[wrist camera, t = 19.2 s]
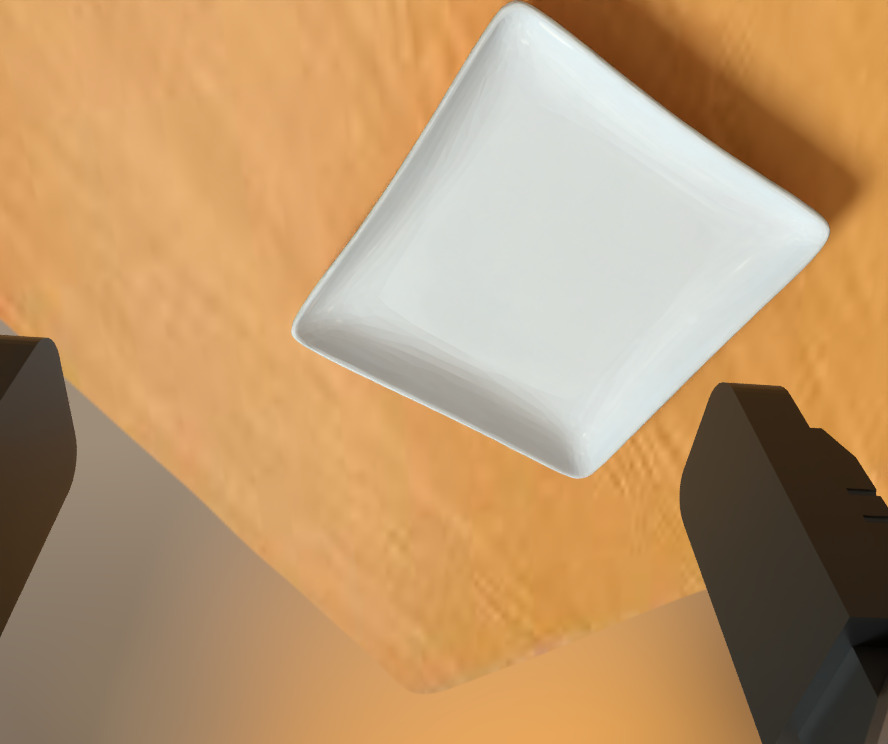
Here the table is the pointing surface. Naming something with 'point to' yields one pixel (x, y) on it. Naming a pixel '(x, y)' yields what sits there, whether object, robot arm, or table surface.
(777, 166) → the table surface
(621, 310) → the salad plate
